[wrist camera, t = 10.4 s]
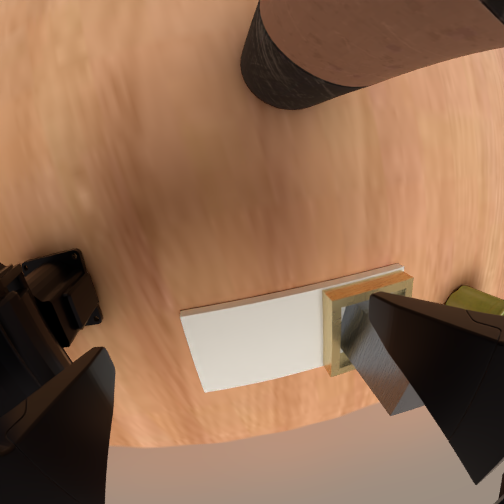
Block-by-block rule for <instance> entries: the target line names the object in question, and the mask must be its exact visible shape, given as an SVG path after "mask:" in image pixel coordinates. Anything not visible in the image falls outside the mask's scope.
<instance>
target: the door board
mask: <svg viewBox="0 0 504 504" xmlns="http://www.w3.org/2000/svg"><path fill="white" fill-rule="evenodd" d="M398 270H402V271H403V272H404V266H402V265H400V264H399V263H397V264H393V265H389V266H386V267H382V268H378V269H374V270H370V271H366V272H362V273H358V274H354V275H350V276H346V277H342V278H338V279H334V280H330V281H325V282H321V283H317V284H312V285H308V286H304V287H299V288H295V289H290V290H285V291H281V292H276V293H271V294H267V295H262V296H257V297H252V298H247V299H242V300H237V301H232V302H227V303H221V304H216V305H211V306H205V307H200V308H194V309H188V310H183V311H180V319H181V323H182V326H183V329H184V333H185V336H186V339H187V342H188V345H189V348H190V352H191V355H192V358H193V361H194V364H195V367H196V370H197V372H198V375H199V378H200V381H201V384H202V387H203V389H204V392H211V391H217V390H223V389H228V388H234V387H239V386H244V385H249V384H254V383H258V382H263V381H267V380H272V379H276V378H280V377H284V376H288V375H292V374H296V373H300V372H303V371H307V370H310V369H314V368H317V367H321V366H324V365H323V303H322V290H326V289H330V288H334V287H338V286H342V285H346V284H350V283H354V282H357V281H361V280H365V279H369V278H373V277H376V276H380V275H384V274H387V273H391V272H394V271H398ZM345 308H346V307H342V308H341V321H342V318H343V315H344V312H345ZM342 352H343V350H342V349H341V348H340V353H342Z"/></svg>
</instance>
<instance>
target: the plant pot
mask: <svg viewBox="0 0 504 504" xmlns="http://www.w3.org/2000/svg"><path fill="white" fill-rule="evenodd" d="M445 305H448V306H453V307H458V308H462V309H465V310H466V309H468V310H472V311H477V312H483V313H488V314H495V315H502V316H504V300H502V299H500V298H497V297H494V296H492V295H489V294H487V293H484V292H481V291H479V290H476V289H474V288H471V287H469V286H461V287H460V288H459V290H457V291H456V292H454V293H452V294H451V296H450V297H449V299H448V300H447V302H446V304H445Z"/></svg>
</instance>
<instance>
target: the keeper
mask: <svg viewBox="0 0 504 504" xmlns="http://www.w3.org/2000/svg"><path fill="white" fill-rule="evenodd" d="M412 288H413V277H412V276H410V275H408V274H407V273H405V272H403V271H402V270H398V271H394V272H391V273H387V274H384V275H380V276H376V277H373V278H369V279H365V280H361V281H357V282H354V283H350V284H346V285H342V286H338V287H334V288H330V289H326V290H322V303H323V365H324V367H325V368H326V370H327V372H328V373H329V375H330V377H333V376H336V375H339V374H343V373H345V372H348V371H351V370H354V369H356V368H355V367H354V365H353V364H352V363H351V361H350V360H349V359H348V357H347V356H346V355H345V353H344V352H342V353H340V345H341V308H342V307H346V306H349V305H353V304H356V303H360V302H363V301H367V300H369V297H370V295H371V294H373V293H376V292H379V291H383V292H387V293H392V294H396V295H401V296H406V297H410V298H411V297H412Z"/></svg>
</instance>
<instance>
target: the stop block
mask: <svg viewBox="0 0 504 504" xmlns="http://www.w3.org/2000/svg"><path fill="white" fill-rule="evenodd" d="M368 311H369V300H367V301H363V302H360V303H356V304H353V305H349V306H346V308H345V312H344V315H343V318H342V321H341V345H340V348H341V349H342V350H343V352H344V353H345V355H346V356H347V357H348V359H349V360H350V361H351V363H352V364H353V365H354V367H355V368H356V370H357V371H358V372H359V374H360V375H361V376H362V378H363V379H364V380H365V382H366V383H367V385H368V386H369V387H370V389H371V390H372V391H373V393H374V394H375V396H376V397H377V398H378V400H379V401H380V403H381V404H382V405H383V407H384V408H385V409H386V411H387V412H388V414H389V415H390V416H392V415H396V414H399V413H402V412H405V411H408V410H412V409H415V408H417V407H421V406H423V405H424V403H423V402H422V400H421V399H420V397H419V396H418V394H417V393H416V392H415V390H414V389H413V387H412V386H411V384H410V383H409V382H408V380H407V379H406V377H405V376H404V374H403V373H402V372H401V370H400V369H399V367H398V366H397V365H396V363H395V362H394V361H393V359H392V358H391V356H390V355H389V353H388V352H387V350H386V349H385V347H384V345H383V343H382V342H381V340H380V338H379V336H378V335H377V333H376V331H375V329H374V328H373V326H372V324H371V323H370V321H369V317H368Z"/></svg>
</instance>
